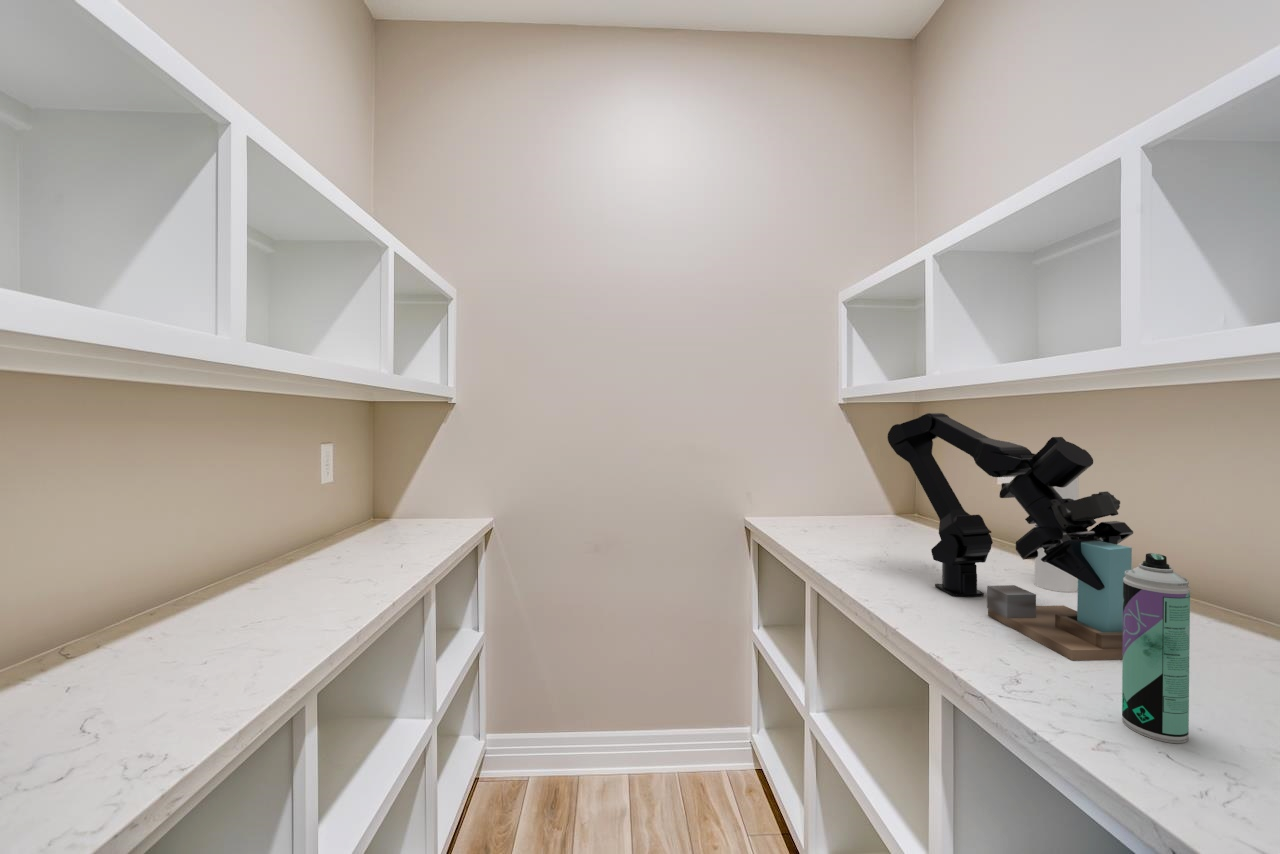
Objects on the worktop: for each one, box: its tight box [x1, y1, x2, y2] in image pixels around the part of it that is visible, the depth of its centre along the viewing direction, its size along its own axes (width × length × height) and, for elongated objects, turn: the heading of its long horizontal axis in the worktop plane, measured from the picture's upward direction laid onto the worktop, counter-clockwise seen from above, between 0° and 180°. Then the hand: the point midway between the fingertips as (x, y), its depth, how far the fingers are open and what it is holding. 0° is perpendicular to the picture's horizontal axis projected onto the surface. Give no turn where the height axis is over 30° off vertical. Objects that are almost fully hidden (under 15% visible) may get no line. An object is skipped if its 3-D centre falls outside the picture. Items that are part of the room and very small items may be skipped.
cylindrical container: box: [1033, 476, 1079, 593], centre depth 112 cm, size 7×7×25 cm
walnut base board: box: [986, 584, 1123, 661], centre depth 87 cm, size 18×14×6 cm
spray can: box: [1121, 552, 1191, 744], centre depth 61 cm, size 6×6×20 cm
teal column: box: [1076, 541, 1133, 633], centre depth 83 cm, size 4×4×13 cm
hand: (1113, 587), depth 81 cm, fingers closed on teal column, 4 cm apart
